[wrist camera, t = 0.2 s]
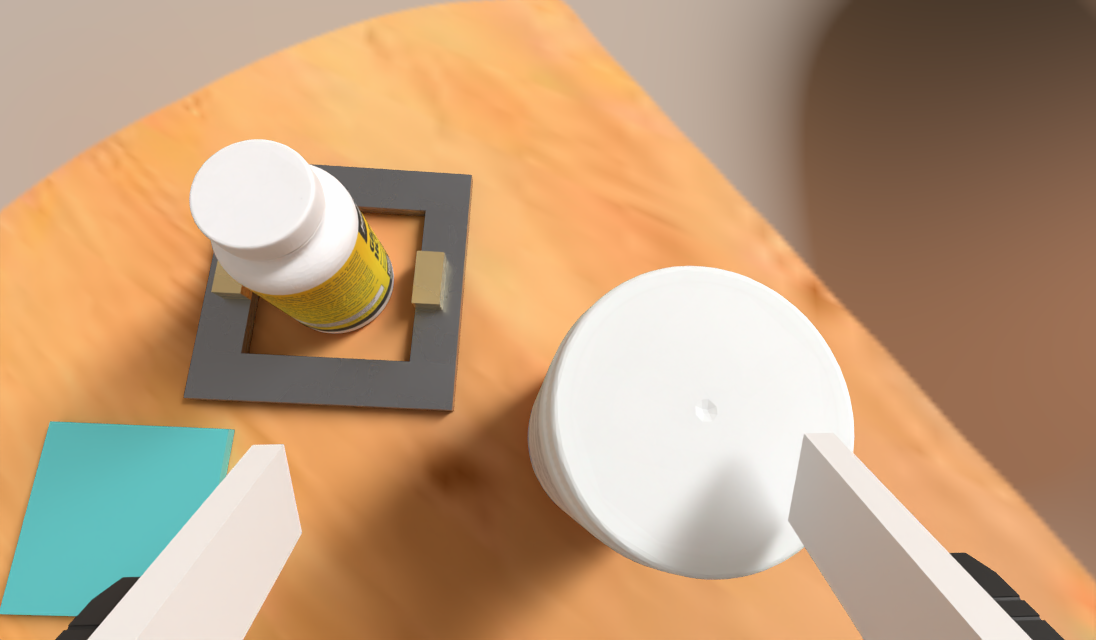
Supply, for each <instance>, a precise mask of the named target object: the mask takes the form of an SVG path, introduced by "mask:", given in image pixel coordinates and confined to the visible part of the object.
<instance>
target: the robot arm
mask: <svg viewBox="0 0 1096 640" xmlns="http://www.w3.org/2000/svg"><path fill="white" fill-rule="evenodd" d="M788 522H789V523H790V525H791V526H792V528H793V529H794V531H795V533H796V534H797V536H798V537H799V539H800V540H801V542H802V543H803V545H804V547H805V548H806V550H807V551H808V553H809V554H810V556H811V558H812V559H813V561H814V562H815V564H816V565H817V567H818V569H819V570H820V572H821V573H822V575H823V576H824V578H825V580H826V581H827V583H828V584H829V586H830V587H831V589H832V591H833V592H834V594H835V595H836V597H837V598H838V600H839V602H840V603H841V605H842V606H843V608H844V609H845V611H846V612H847V614H848V616H849V617H850V619H851V620H852V622H853V623H854V625H855V627H856V628H857V630H858V631H859V633H860V634H861V636H862V638H863V639H864V640H1064V639H1063V638H1062V637H1061V636H1060V635H1059V634H1058V633H1057V632H1056V631H1055V630H1054V629H1053V628H1052V627H1051V626H1050V625H1049V624H1048V623H1047V622H1046V621H1045V620H1041V619H1040V617H1039V614H1038V613H1037V612H1036V611H1035V610H1034V609H1033V608H1032V607H1031V606H1029V605H1028V604H1027V603H1026V602H1025V601H1024V600H1021V599H1020V597H1019V595H1018V594H1017V593H1016V592H1015V591H1014V590H1013V589H1012V588H1011V587H1010V586H1009V585H1008V584H1007V583H1006V582H1005V581H1004V580H1003V579H1002V578H1001V577H1000V576H999V575H998V574H997V573H996V572H994V571H993V570H991V569H990V568H988V567H987V566H985V565H984V564H982V563H980V562H979V561H977V560H976V559H974V558H973V557H971V556H970V555H968V554H967V553H949V552H948V551H947V550H946V549H945V548H944V547H943V546H942V545H941V544H940V543H939V542H938V541H937V540H936V539H935V538H934V537H933V536H932V535H931V534H930V533H929V532H928V531H927V530H926V529H925V528H924V526H923V525H922V524H921V523H920V522H919V521H918V520H917V519H916V518H915V517H914V516H913V515H912V514H911V513H910V512H909V511H908V510H907V509H906V508H905V507H904V506H903V505H902V504H901V503H900V501H899V500H898V499H897V498H896V497H895V496H894V495H893V494H892V493H891V492H890V491H889V490H888V489H887V488H886V487H885V486H884V485H883V484H882V483H881V482H880V481H879V480H878V479H877V478H876V476H875V475H874V474H873V473H872V472H871V471H870V470H869V469H868V468H867V467H866V466H865V465H864V464H863V463H862V462H861V461H860V460H859V459H858V458H857V457H856V456H855V455H854V454H853V453H852V451H851V450H850V449H849V448H848V447H847V446H846V445H845V444H844V443H843V442H842V441H841V440H840V439H839V438H838V437H837V436H836V435H835V434H834V433H804V436H803V441H802V447H801V452H800V458H799V463H798V468H797V474H796V479H795V485H794V490H793V495H792V501H791V506H790V512H789V517H788ZM301 534H302V530H301V526H300V521H299V516H298V511H297V506H296V501H295V496H294V491H293V487H292V482H291V477H290V472H289V467H288V462H287V457H286V453H285V448H284V444H277V445H252V446H251V448H250V449H249V450H248V451H247V452H246V453H245V455H244V456H243V457H242V458H241V459H240V461H239V462H238V463H237V464H236V465H235V466H234V468H233V469H232V470H231V471H230V472H229V473H228V475H227V476H226V477H225V478H224V479H223V481H222V482H221V483H220V484H219V485H218V486H217V488H216V489H215V490H214V491H213V492H212V493H211V495H210V496H209V497H208V498H207V499H206V501H205V502H204V503H203V504H202V505H201V506H200V508H199V509H198V510H197V511H196V512H195V514H194V515H193V516H192V517H191V518H190V519H189V521H188V522H187V523H186V524H185V525H184V526H183V528H182V529H181V530H180V531H179V532H178V534H177V535H176V536H175V537H174V538H173V539H172V541H171V542H170V543H169V544H168V545H167V546H166V548H165V549H164V550H163V551H162V552H161V554H160V555H159V556H158V557H157V558H156V559H155V561H154V562H153V563H152V564H151V565H150V566H149V568H148V569H147V570H146V571H145V572H144V574H143V575H142V576H141V577H122V578H121V579H120V580H118V581H117V582H115V583H114V584H113V585H111V586H110V587H109V588H107V589H106V590H104V591H103V592H102V593H100V594H99V595H97V596H96V597H95V598H93V599H92V600H91V601H90V602H89V603H88V604H87V605H86V607H85V608H84V609H83V610H82V611H81V612H80V613H79V614H78V615H77V616H76V618H75V619H74V620H73V621H72V622H71V623H70V624H69V625H68V626H69V627H68V629H67V630H64V631H63V632H62V633H61V634H60V635H59V636H58V637H57V638H56V640H243V639H244V637H245V635H246V634H247V632H248V630H249V628H250V626H251V624H252V623H253V621H254V619H255V617H256V615H257V614H258V612H259V610H260V608H261V606H262V604H263V603H264V601H265V599H266V597H267V595H268V594H269V592H270V590H271V588H272V586H273V584H274V583H275V581H276V579H277V577H278V575H279V574H280V572H281V570H282V568H283V566H284V565H285V563H286V561H287V559H288V557H289V555H290V554H291V552H292V550H293V548H294V546H295V545H296V543H297V541H298V539H299V537H300V535H301Z"/></svg>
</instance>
